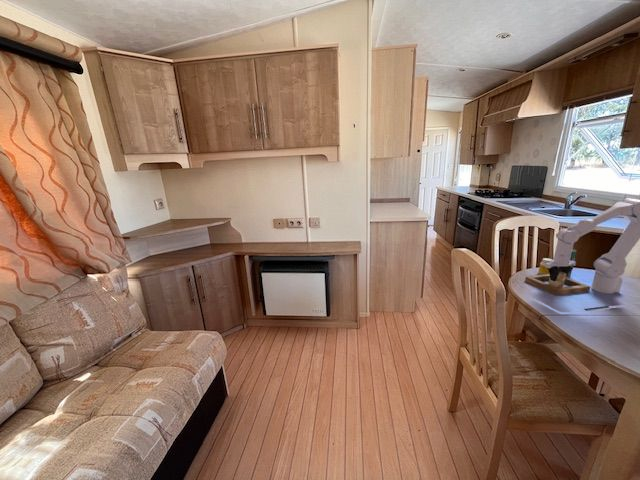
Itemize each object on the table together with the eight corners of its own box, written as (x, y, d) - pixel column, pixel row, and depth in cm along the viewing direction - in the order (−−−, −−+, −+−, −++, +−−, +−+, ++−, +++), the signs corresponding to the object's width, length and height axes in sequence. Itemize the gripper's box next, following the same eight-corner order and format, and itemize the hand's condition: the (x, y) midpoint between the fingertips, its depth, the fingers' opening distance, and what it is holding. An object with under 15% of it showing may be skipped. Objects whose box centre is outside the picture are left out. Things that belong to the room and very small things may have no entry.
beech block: (555, 283, 131) (558, 270, 129) (563, 286, 127) (566, 273, 125) (548, 284, 130) (550, 271, 128) (556, 287, 126) (559, 274, 124)
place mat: (580, 295, 121) (581, 294, 120) (609, 307, 110) (609, 306, 110) (560, 297, 119) (560, 297, 119) (586, 310, 109) (587, 309, 109)
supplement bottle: (540, 272, 146) (543, 256, 143) (552, 275, 141) (555, 259, 139) (536, 275, 143) (539, 259, 140) (548, 278, 139) (552, 261, 136)
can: (572, 277, 139) (579, 250, 135) (564, 278, 138) (570, 252, 134) (560, 272, 145) (566, 247, 141) (551, 274, 143) (557, 248, 139)
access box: (554, 279, 137) (556, 273, 136) (588, 293, 122) (590, 286, 121) (524, 282, 135) (525, 276, 134) (555, 297, 120) (556, 290, 119)
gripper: (567, 250, 129) (561, 275, 132) (541, 252, 127) (536, 278, 131) (583, 254, 122) (576, 281, 126) (555, 257, 120) (549, 284, 124)
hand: (556, 279), depth 128 cm, fingers closed on beech block, 4 cm apart
